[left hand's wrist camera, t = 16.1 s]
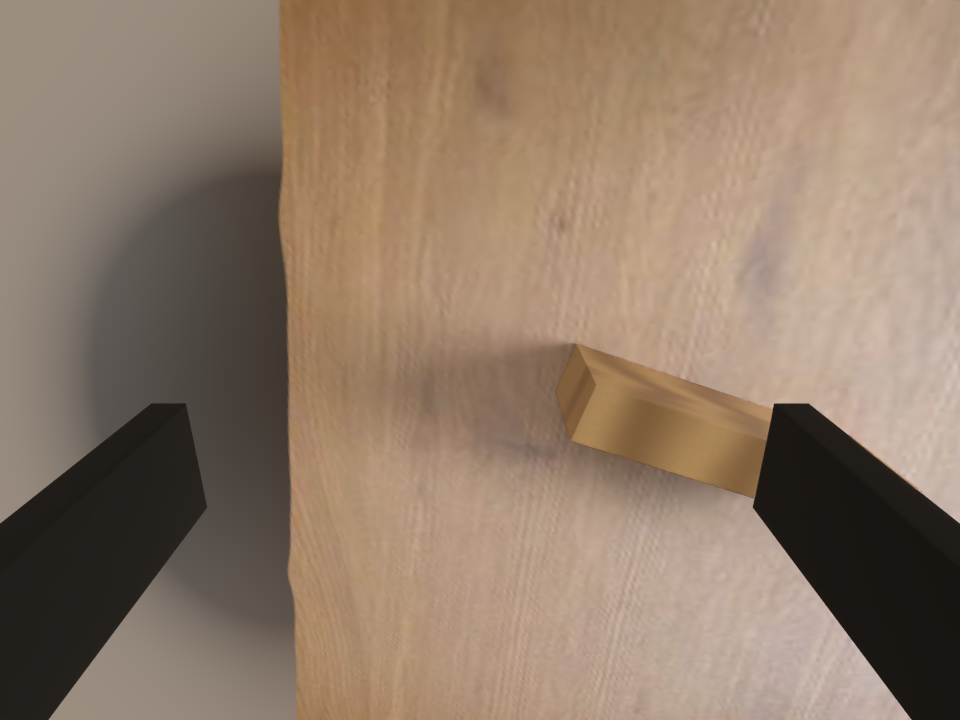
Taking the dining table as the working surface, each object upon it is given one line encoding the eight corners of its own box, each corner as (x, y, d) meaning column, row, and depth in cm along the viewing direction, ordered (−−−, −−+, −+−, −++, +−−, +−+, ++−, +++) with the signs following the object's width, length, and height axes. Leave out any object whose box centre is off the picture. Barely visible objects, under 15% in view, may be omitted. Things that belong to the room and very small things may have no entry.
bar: (555, 391, 46) (570, 440, 39) (576, 343, 45) (596, 384, 37) (823, 478, 49) (886, 540, 42) (851, 435, 48) (922, 491, 40)
